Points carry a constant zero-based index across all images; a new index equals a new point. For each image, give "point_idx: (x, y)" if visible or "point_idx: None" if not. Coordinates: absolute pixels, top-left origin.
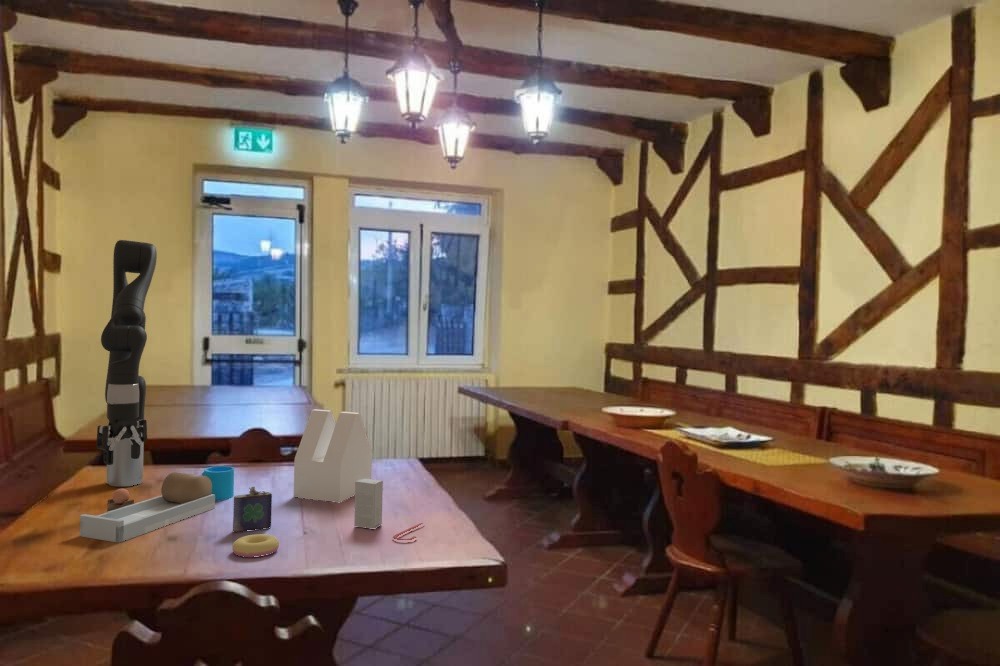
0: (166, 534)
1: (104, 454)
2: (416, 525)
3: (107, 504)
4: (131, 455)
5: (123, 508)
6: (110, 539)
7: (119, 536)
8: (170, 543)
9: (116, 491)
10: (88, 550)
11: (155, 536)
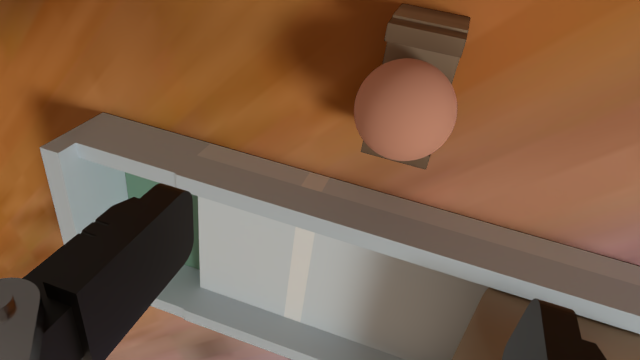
0: None
1: (56, 264)
2: None
3: (393, 15)
4: (537, 325)
5: (245, 210)
6: None
7: None
8: (180, 353)
9: (366, 111)
10: (50, 207)
11: None
